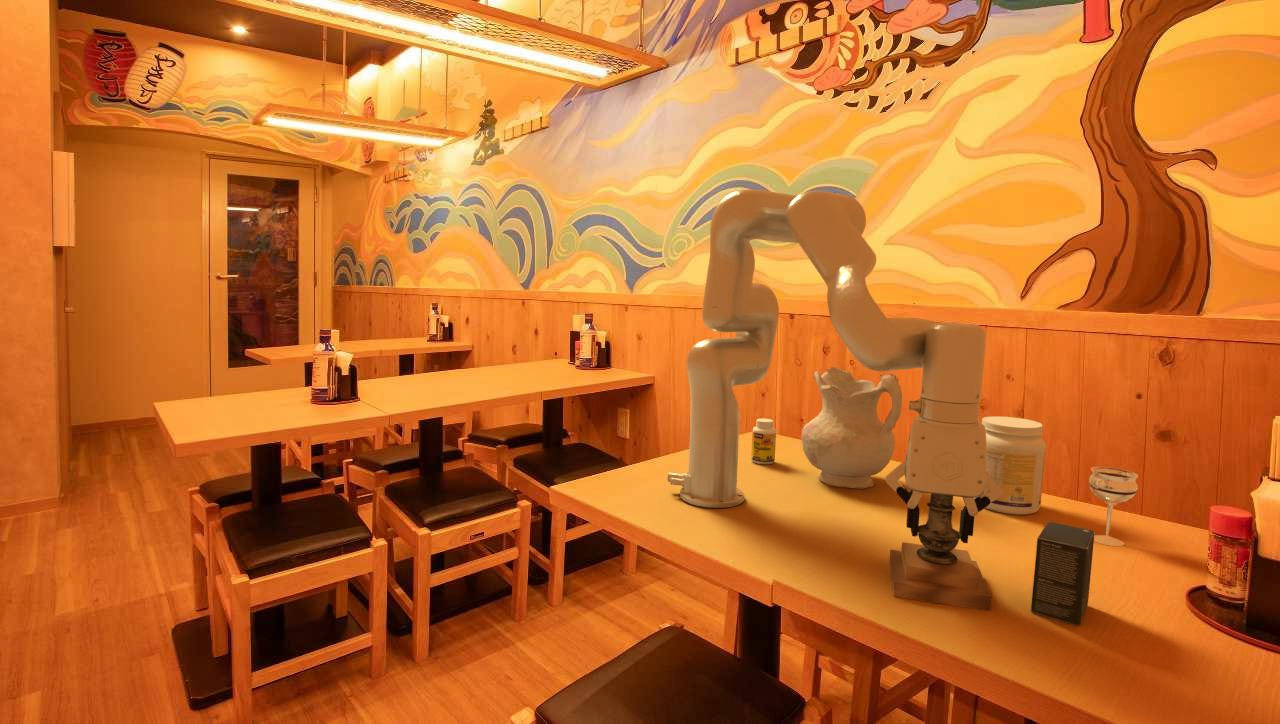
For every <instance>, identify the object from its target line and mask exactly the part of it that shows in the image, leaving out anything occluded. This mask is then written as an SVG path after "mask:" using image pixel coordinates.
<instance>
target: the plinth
mask: <svg viewBox="0 0 1280 724" xmlns="http://www.w3.org/2000/svg"><path fill="white" fill-rule="evenodd" d="M923 547H925V546H924V545H923V544H922V543H920V544H919V543H913V542H912V543H911V542H903V541H902V543H901V550H896V549H890V550H889V560H888V562H889V570H890V578H891V579H890V580H891V586H892V593H893V597H896V598H903V599H907V600H908V599H909V600H914V601H915V600H916V601H923V602H928V603H936V604H942V605H946V606H947V605H949V606H955V607H961V608H968V609H975V610H980V611H987V612H991V609H992V597H993V596H992V594H991V592H990V590H989V587H988V584H987V583H986V581H985V579H984V576H983V574H982V572H981V570H980V567H979V564H978V562H977V561H975V560H972V558H971V555H970V553H969V550H966V549H959V548H957V549H956V548H954V549H953V550H951V551H950V552H952V553H953V554H954V555H955V556H956V557H957V561H956V562H954V563H949V564H943V563H935V562H931V561H928V560H925V559H923V558H921V557H920V556H918V554H917V550H918V549H920V548H923Z"/></svg>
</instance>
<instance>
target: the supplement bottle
mask: <svg viewBox="0 0 1280 724" xmlns="http://www.w3.org/2000/svg"><path fill="white" fill-rule="evenodd" d="M755 425H756V426H754V427H753V428H752V434H751V455H750V457H751V458H750V460H751V462H752V463H754V464H758V465H764V466H765V465H771V464H773V463H775V460H776V459H775V458H776V445H777V444H776V442H777V429H776V428H774V420H773V419H770V418H757V419H756V423H755Z"/></svg>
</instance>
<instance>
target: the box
mask: <svg viewBox="0 0 1280 724" xmlns="http://www.w3.org/2000/svg"><path fill="white" fill-rule="evenodd" d="M1094 535H1095V531H1094V530H1093V529H1086V528H1083V527H1079V526H1078V527H1077V526H1073V525H1067V524H1065V523H1064V524H1063V523H1059V522H1054V521H1053V522H1052V521H1047V522H1046V524H1045V525H1044V527H1043V529H1042V531H1041V532H1040V534H1039V535H1038V536H1037V538H1036V547H1035V548H1036V550H1035V563H1034V573H1033V584H1032V594H1031V595H1032V596H1031V605H1030V606H1031V607H1030V612H1031V613H1032V614H1035V615H1037V616H1041V617H1046V618H1050V619H1053V620H1054V621H1055V620H1056V621H1060V622H1062V623H1065V624H1069V625H1074V626H1077V627H1079V626H1080V625H1081V624H1082V620H1083V618H1084V615H1085V614H1086V613H1085V612H1086V610H1087V607H1088V604H1089V594H1090V587H1091V585H1090V584H1091V576H1092V564H1093V563H1092V562H1093V555H1094V554H1093V553H1094V542H1095V541H1094Z"/></svg>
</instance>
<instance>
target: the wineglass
mask: <svg viewBox="0 0 1280 724" xmlns="http://www.w3.org/2000/svg"><path fill="white" fill-rule="evenodd" d="M1090 471H1091V473H1092V474H1091V475H1090V476H1089V479H1088V486H1089V488H1090V490H1091V492H1092V493H1094V495H1095V496H1096V497H1097V498H1099V499H1100V500H1102V501H1104V503H1105V504H1106V505H1107V507H1106V508H1107V509H1106V527H1105V535H1104V534H1094V542H1095V543H1098V544H1100V545H1106V546H1111V547H1123V546H1124V545H1125V542H1123V541H1122V540H1120V539H1119V538H1115V537H1112V536H1111V535H1109V534H1110V529H1111V522H1112V515H1113V510H1114V506H1116V505H1118V504H1121V503H1125V502H1127V501H1129V500H1130V499H1133V497H1135V495H1137V493H1138V489H1139V488H1138V487H1139V485H1138V484H1137V482H1136V481H1137V479H1138V478H1139V475H1138V474H1137V473H1136V472H1133V471H1129V470H1127V469H1120V468H1114V467H1108V466H1093V467H1090Z"/></svg>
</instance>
